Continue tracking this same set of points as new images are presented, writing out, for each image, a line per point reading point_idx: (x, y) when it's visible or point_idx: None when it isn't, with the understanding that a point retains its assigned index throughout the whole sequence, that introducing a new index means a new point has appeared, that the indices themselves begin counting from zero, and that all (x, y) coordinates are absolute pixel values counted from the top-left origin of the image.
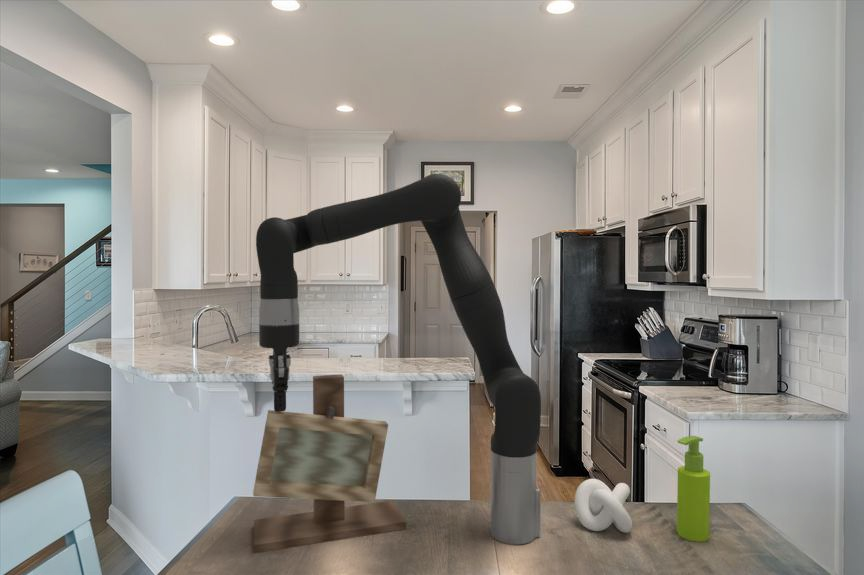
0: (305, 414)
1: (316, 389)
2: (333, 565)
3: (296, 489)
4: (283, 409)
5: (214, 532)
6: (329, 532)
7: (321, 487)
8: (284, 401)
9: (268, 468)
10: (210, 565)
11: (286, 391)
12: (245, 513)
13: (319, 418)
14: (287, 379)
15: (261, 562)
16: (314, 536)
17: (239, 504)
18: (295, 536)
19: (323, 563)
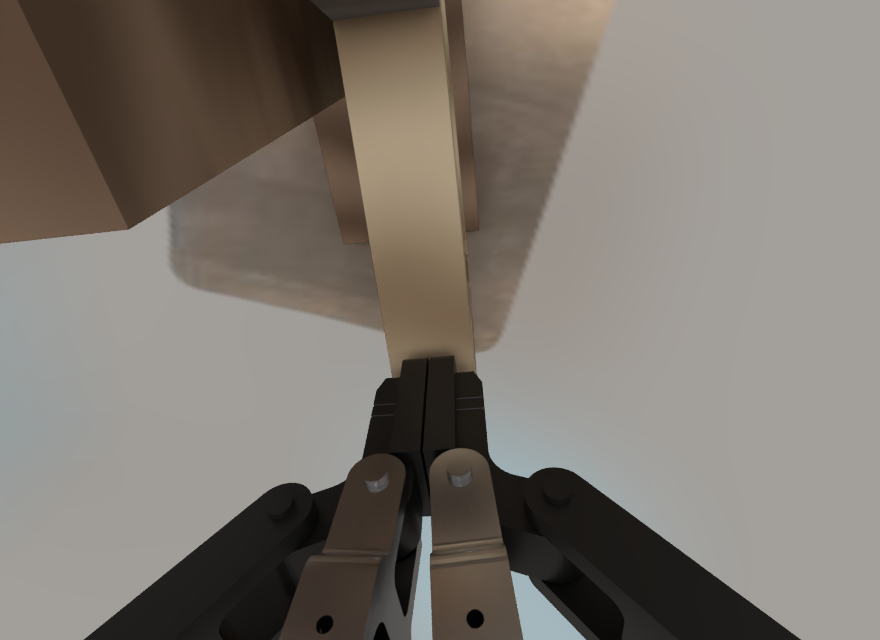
0: (388, 205)
1: (199, 158)
2: (601, 10)
3: (458, 154)
4: (455, 369)
5: (364, 314)
6: (455, 19)
7: (448, 51)
8: (456, 401)
9: (469, 280)
10: (506, 300)
11: (473, 451)
12: (270, 263)
13: (447, 88)
14: (735, 595)
15: (525, 203)
16: (466, 70)
17: (217, 283)
18: (458, 128)
19: (580, 41)
